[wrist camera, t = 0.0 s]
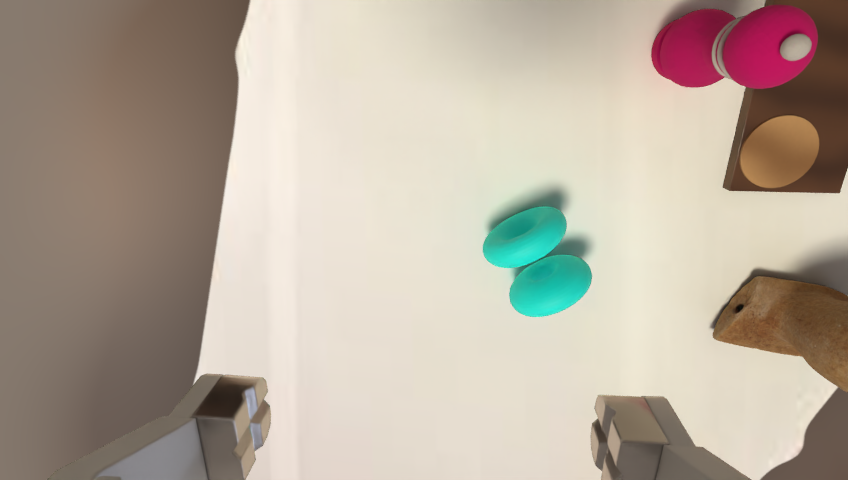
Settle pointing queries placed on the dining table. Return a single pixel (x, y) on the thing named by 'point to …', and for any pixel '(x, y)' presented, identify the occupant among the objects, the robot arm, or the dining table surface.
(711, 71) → the pepper mill
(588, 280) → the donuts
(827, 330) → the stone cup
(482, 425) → the dining table surface
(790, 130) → the serving board
